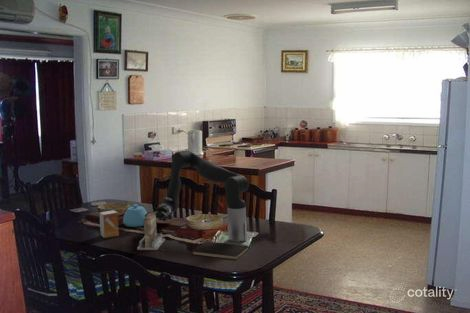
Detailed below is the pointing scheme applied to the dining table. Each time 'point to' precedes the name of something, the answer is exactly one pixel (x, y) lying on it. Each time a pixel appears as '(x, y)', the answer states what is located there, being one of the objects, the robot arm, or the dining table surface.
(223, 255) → the hardcover book
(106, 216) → the small box
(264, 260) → the dining table surface
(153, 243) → the grey plastic bag
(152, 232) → the beige mottled box
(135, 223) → the sugar bowl
